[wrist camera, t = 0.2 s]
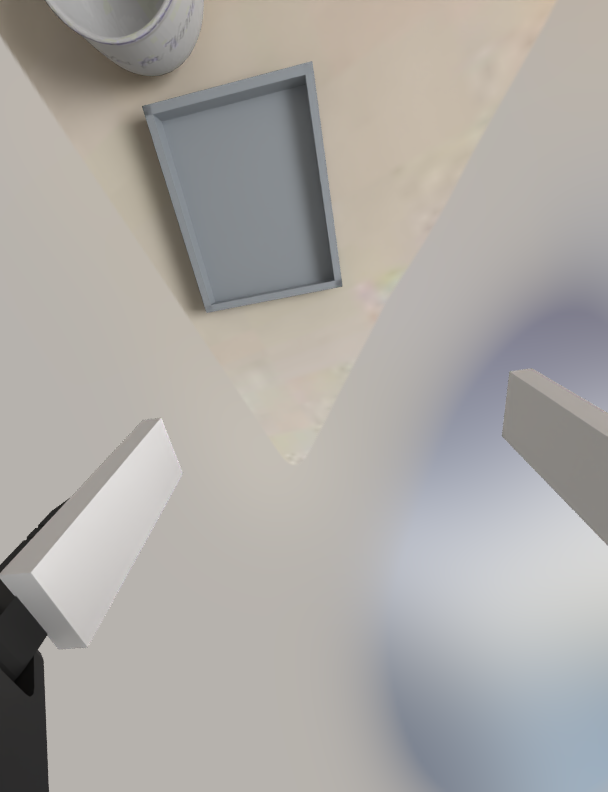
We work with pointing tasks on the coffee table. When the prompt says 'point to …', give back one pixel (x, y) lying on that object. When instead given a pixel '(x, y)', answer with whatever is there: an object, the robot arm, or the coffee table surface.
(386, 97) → the coffee table surface
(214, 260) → the tray
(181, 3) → the teacup
